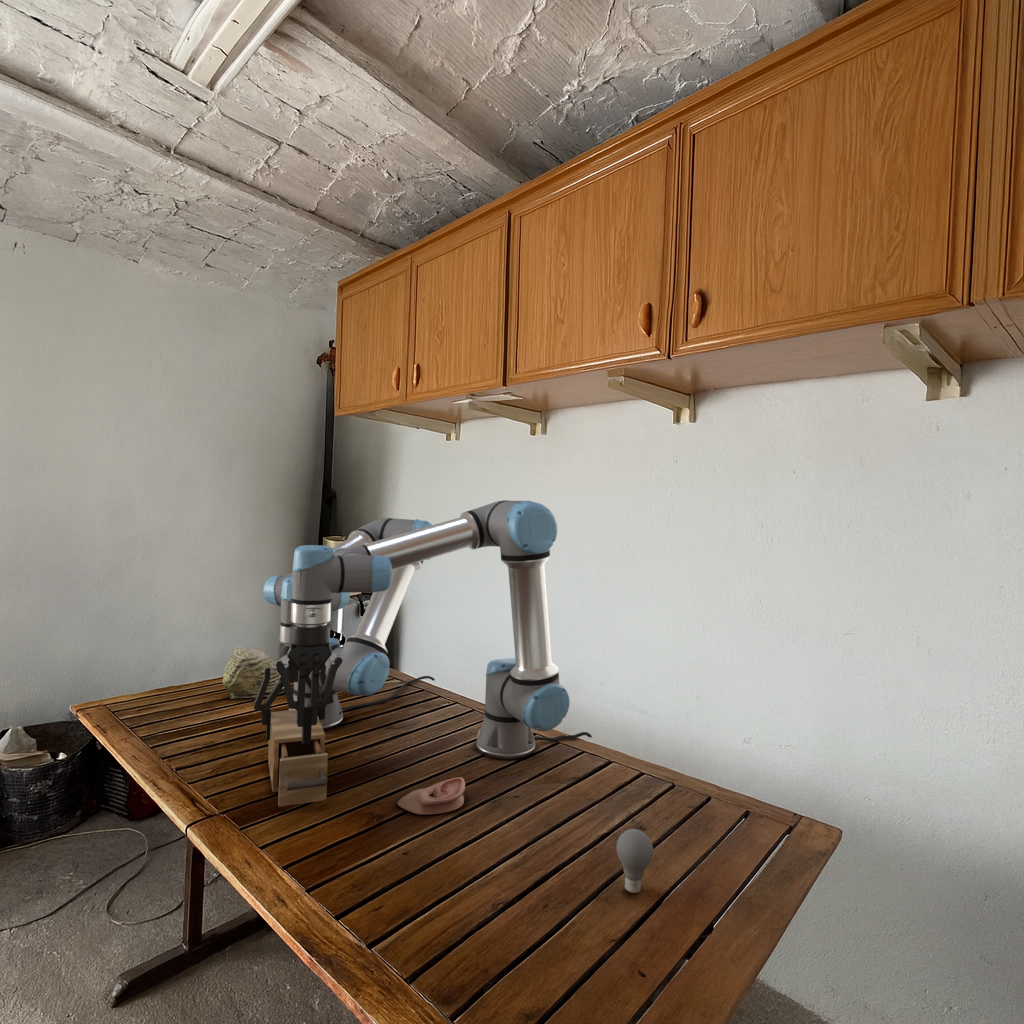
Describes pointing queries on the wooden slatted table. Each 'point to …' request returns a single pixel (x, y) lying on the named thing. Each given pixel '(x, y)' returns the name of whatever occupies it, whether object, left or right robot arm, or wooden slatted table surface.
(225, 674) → the fossil
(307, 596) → the right robot arm
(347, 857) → the wooden slatted table surface
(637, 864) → the light bulb
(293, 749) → the drawer
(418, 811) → the anatomical model
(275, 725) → the cabinet
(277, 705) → the wooden slatted table surface
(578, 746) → the wooden slatted table surface
